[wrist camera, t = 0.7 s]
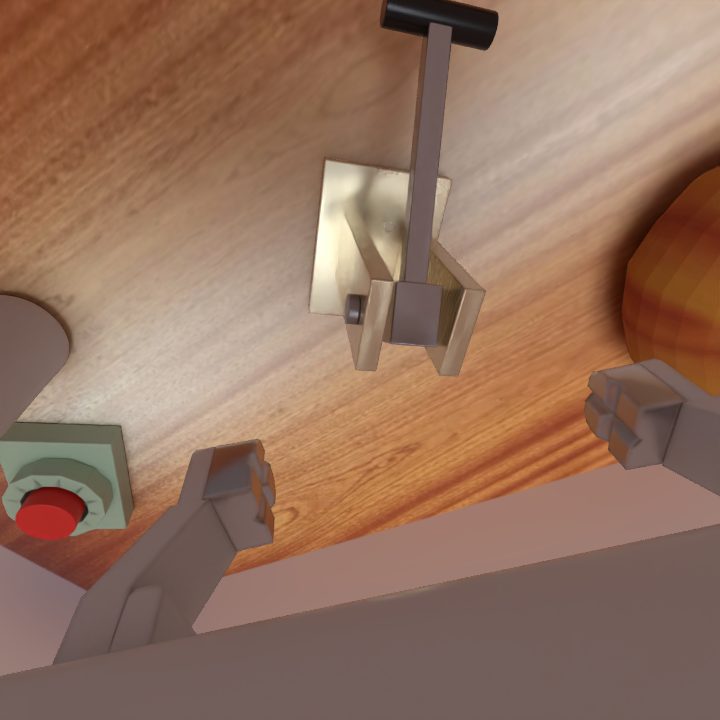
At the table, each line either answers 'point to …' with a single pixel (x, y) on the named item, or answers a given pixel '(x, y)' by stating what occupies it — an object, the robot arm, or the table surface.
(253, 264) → the table surface
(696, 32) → the table surface
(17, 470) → the control block
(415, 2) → the lever
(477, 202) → the table surface
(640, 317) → the pumpkin
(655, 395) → the robot arm
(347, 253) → the bracket
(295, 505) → the table surface
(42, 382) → the beverage can
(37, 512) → the button
